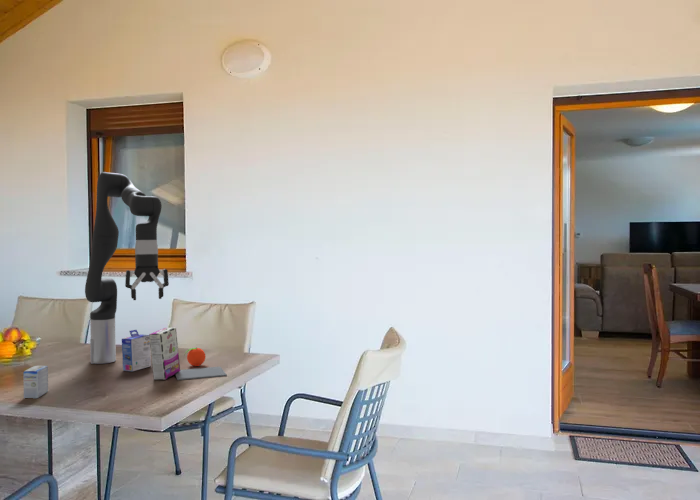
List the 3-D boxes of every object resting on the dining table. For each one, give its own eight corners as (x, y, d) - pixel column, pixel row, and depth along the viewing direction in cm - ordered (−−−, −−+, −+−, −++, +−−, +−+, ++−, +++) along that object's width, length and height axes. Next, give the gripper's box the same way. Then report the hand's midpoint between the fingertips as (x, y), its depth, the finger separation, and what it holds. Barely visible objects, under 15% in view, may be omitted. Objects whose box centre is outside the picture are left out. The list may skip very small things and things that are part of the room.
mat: (177, 380, 212) (177, 378, 212) (173, 371, 225) (173, 370, 225) (226, 375, 218) (226, 374, 218) (220, 367, 231) (220, 366, 231)
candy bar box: (168, 371, 223) (164, 327, 222) (180, 371, 222) (177, 327, 221) (152, 380, 212) (148, 333, 211) (165, 380, 211) (161, 333, 210)
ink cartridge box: (140, 365, 236) (140, 328, 236) (151, 366, 234) (151, 328, 233) (121, 370, 227) (120, 331, 227) (132, 372, 225) (132, 332, 224)
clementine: (186, 368, 229) (186, 350, 229) (182, 365, 235) (182, 347, 235) (207, 366, 233) (207, 348, 233) (203, 363, 239) (202, 345, 239)
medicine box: (34, 392, 197) (33, 365, 197) (48, 391, 197) (48, 365, 197) (23, 398, 189) (22, 371, 189) (38, 398, 189) (37, 370, 189)
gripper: (165, 252, 220) (166, 297, 220) (123, 253, 213) (124, 299, 214) (169, 252, 213) (170, 299, 213) (126, 253, 207) (126, 301, 207)
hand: (147, 299), depth 213 cm, fingers open, 8 cm apart
